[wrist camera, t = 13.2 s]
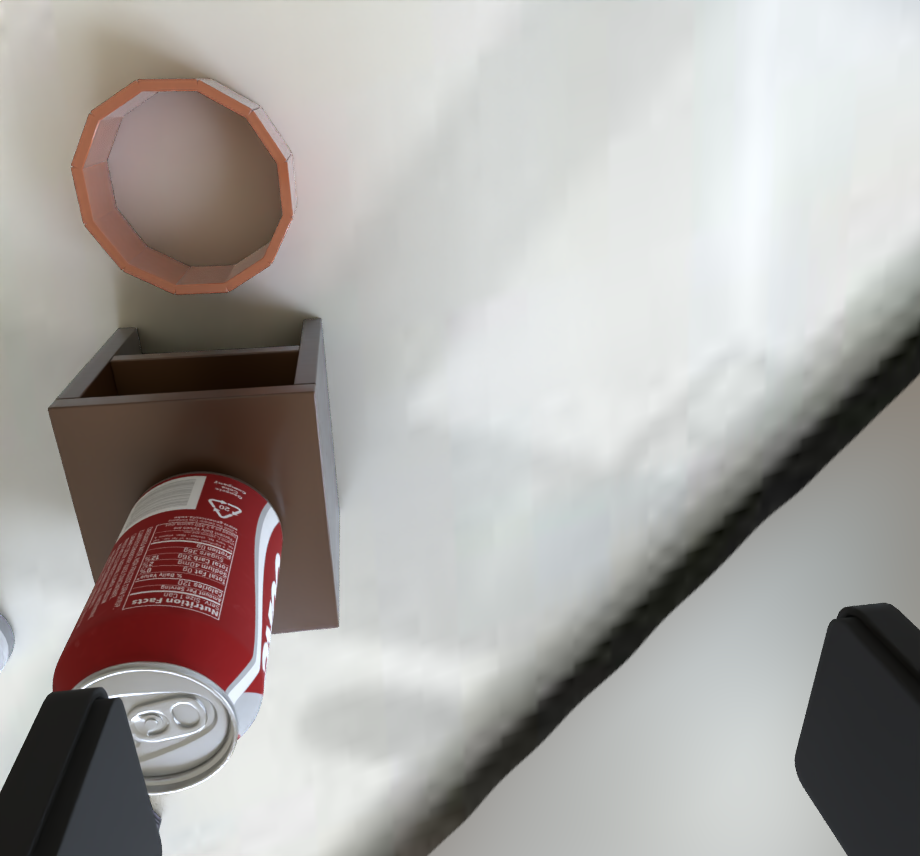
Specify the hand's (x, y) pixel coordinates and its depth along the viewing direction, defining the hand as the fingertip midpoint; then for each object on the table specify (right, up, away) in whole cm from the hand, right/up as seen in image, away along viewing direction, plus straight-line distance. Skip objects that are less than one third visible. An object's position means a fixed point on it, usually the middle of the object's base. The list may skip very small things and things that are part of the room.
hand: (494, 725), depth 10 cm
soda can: (-12, -1, +25) cm, 27 cm away
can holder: (-14, +17, +28) cm, 36 cm away
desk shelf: (-14, +4, +34) cm, 37 cm away
